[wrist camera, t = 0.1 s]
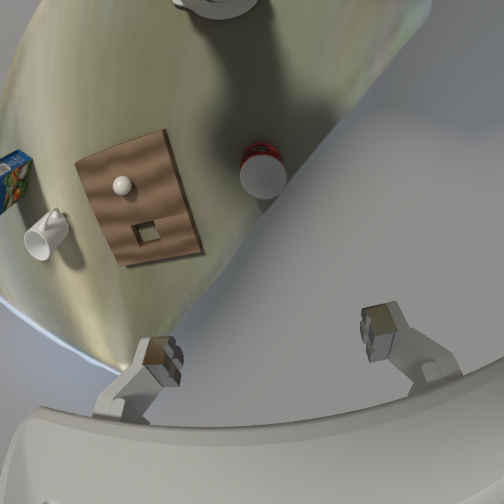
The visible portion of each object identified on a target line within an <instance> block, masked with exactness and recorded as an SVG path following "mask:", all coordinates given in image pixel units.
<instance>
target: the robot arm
mask: <svg viewBox="0 0 504 504" xmlns="http://www.w3.org/2000/svg"><path fill="white" fill-rule="evenodd" d="M172 1H173V3H174V4H175V5H177V6H180V7H186V8H188V9H190V10H192V11H193V12H194V13H196V14H198V15H200V16H202V17H205V18H208V19H215V20H222V19H230V18H234V17H237V16H240V15H242V14H244V13H246V12H247V11H249V10H250V9H251V8H252V7H253V6H254V5H255V4H256V3H257V1H258V0H172ZM361 316H362V321H361V322H360V332H361V337H362V341H363V343H365V344H366V353H367V356H368V359H369V362H370V363H371V362H376V361H380V360H385V359H388V360H389V361H390V362H391V363H392V364H393V365H395V366H396V367H397V368H398V369H399V370H400V371H401V372H403V373H404V374H405V375H406V376H407V377H408V378H409V379H410V380H412V381H413V382H414V383H413V385H412V388H411V389H410V391H409V393H408V397H404V398H401V399H398V400H395V401H391V402H388V403H384V404H380V405H377V406H373V407H369V408H365V409H360V410H356V411H351V412H347V413H342V414H337V415H332V416H326V417H321V418H315V419H308V420H301V421H294V422H286V423H278V424H266V425H254V426H237V427H174V426H158V425H150V422H149V421H148V420H146V419H145V418H144V417H143V416H142V415H143V414H144V413H145V411H146V410H147V409H148V408H149V406H150V405H151V403H152V402H153V401H154V400H155V398H156V397H157V396H158V394H159V392H160V391H161V390H162V389H163V387H179V386H180V380H181V373H180V371H179V370H180V369H181V368H182V367H183V363H184V356H183V352H182V350H181V348H180V347H179V346H177V345H176V340H175V338H174V337H173V336H162V337H142V338H141V340H140V342H139V345H138V348H137V351H136V354H135V357H134V360H133V364H132V365H129V366H128V367H127V368H126V369H125V370H124V371H123V372H122V373H121V374H120V375H119V376H118V377H117V378H116V379H115V380H114V381H113V382H112V383H111V384H110V385H109V386H108V387H107V388H106V389H105V390H104V391H103V392H102V393H101V394H100V395H99V396H98V399H97V403H96V406H95V409H94V412H93V415H92V417H88V416H83V415H78V414H73V413H68V412H65V411H60V410H56V409H52V408H49V407H45V406H40V407H38V408H36V409H35V410H33V411H32V412H31V413H30V414H29V415H28V416H27V417H25V418H24V419H23V420H22V421H21V422H20V424H19V426H18V427H17V429H16V431H15V433H14V436H13V439H12V441H11V444H10V447H9V450H8V452H7V455H6V459H5V462H4V465H3V469H2V473H1V477H0V504H504V357H502V358H500V359H498V360H496V361H494V362H492V363H490V364H488V365H486V366H484V367H482V368H480V369H477V370H475V371H473V372H471V373H469V374H466V375H464V376H463V374H462V372H461V370H460V368H459V365H458V363H457V361H456V359H455V357H454V355H453V354H452V352H450V351H449V350H447V349H446V348H444V347H443V346H441V345H439V344H438V343H436V342H435V341H433V340H431V339H430V338H428V337H427V336H425V335H424V334H422V333H420V332H419V331H417V330H416V329H414V328H409V326H408V323H407V322H406V319H405V317H404V315H403V313H402V311H401V309H400V307H399V305H398V303H397V302H396V301H392V302H388V303H384V304H379V305H375V306H370V307H366V308H362V310H361Z"/></svg>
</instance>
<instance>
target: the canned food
mask: <svg viewBox="0 0 504 504" xmlns="http://www.w3.org/2000/svg"><path fill="white" fill-rule="evenodd" d="M240 182H241V184H242V187H243V188H244V190H245V191H246V192H247V193H248V194H249V195H251V196H252V197H255V198H257V199H264V200H265V199H271V198H274V197H276V196H278V195H279V194H280V193H281V192H282V191H283V190H284V188H285V186H286V183H287V173H286V170H285V167H284V164H283V162H282V159H281V156H280V154H279V152H278V151H277V150H276V149H275V148H274V147H273V146H271V145H269V144H266V143H255V144H252V145H251V146H249V147H248V148H247V149H246V150H245V151H244V153H243V155H242V160H241V167H240Z"/></svg>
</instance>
